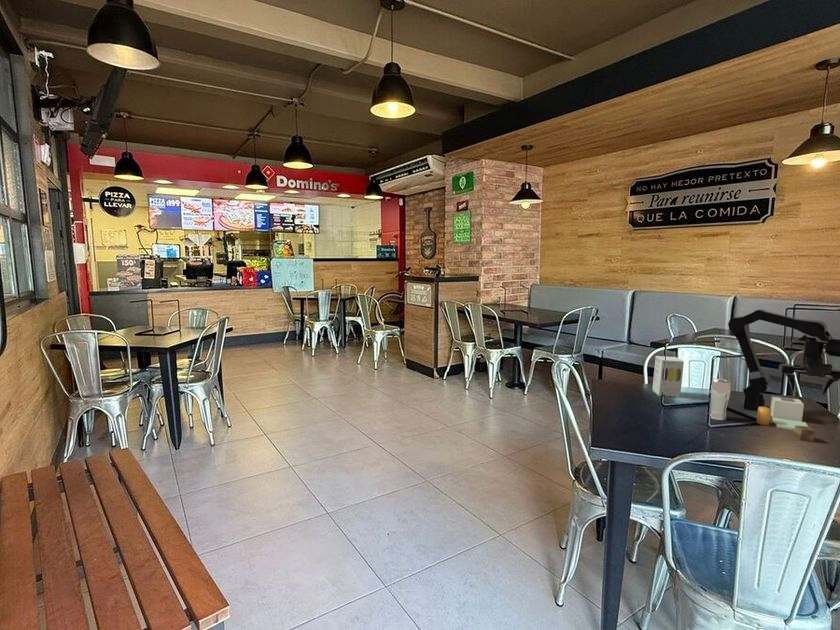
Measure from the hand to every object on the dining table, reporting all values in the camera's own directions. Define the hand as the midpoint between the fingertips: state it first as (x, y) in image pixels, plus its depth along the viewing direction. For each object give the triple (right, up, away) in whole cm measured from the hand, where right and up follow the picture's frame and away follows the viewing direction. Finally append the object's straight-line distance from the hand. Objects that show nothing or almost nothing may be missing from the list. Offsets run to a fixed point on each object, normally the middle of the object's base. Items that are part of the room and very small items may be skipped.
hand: (807, 392), depth 177 cm
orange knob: (-19, -11, -3) cm, 23 cm away
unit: (-5, -10, +4) cm, 12 cm away
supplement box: (-37, -6, +33) cm, 50 cm away
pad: (-11, -12, -5) cm, 17 cm away
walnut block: (-16, -13, -17) cm, 27 cm away
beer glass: (-34, -11, +3) cm, 35 cm away
